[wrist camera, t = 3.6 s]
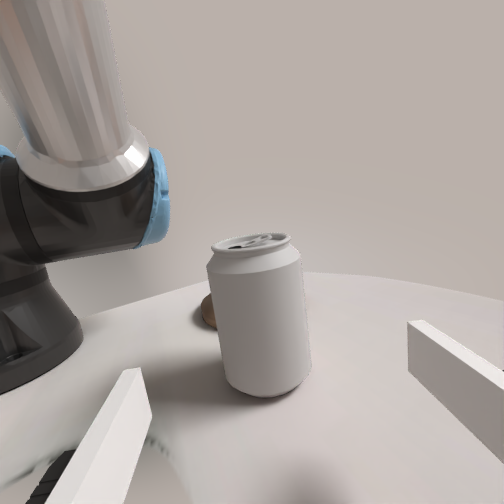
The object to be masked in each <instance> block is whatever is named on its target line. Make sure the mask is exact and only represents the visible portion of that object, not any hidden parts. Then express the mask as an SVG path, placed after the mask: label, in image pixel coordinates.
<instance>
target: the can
mask: <svg viewBox="0 0 504 504" xmlns="http://www.w3.org/2000/svg"><path fill="white" fill-rule="evenodd" d="M290 240H291V238H290V236H289V235H287V234H284V233H261V234H252V235H245V236H239V237H234V238H230V239H227V240H223V241H220V242H217V243H215V244H214V245H213V246H212V247H211V249H212V251H213V252H214V255H213V257H212V258H211V260H210V261H209V263H208V264H207V272H208V279H209V285H210V290H211V296H212V302H213V307H214V313H215V319H216V325H217V330H218V336H219V342H220V348H221V353H222V359H223V365H224V370H225V376H226V380H227V381H228V382H229V383H230V384H231V386H232V387H234V388H236V389H238V390H240V391H241V392H244V393H247V394H248V395H251V396H255V397H260V398H265V397H276V396H279V395H283V394H285V393H287V392H289V391H291V390H293V389H294V388H295V387H296V386H297V385H299V384H301V383H302V381H303V380H304V379H305V378H306V377H307V376H308V375H309V372H310V370H311V367H312V363H311V353H310V343H309V333H308V323H307V313H306V303H305V293H304V283H303V273H302V263H301V255H300V253H299V252H298V251H297V250H296V249H295V248H294V247H293V246H292V245H291V244H289V241H290Z"/></svg>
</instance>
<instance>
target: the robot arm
mask: <svg viewBox="0 0 504 504" xmlns="http://www.w3.org/2000/svg"><path fill="white" fill-rule="evenodd" d="M0 91H1V92H2V94H3V96H4V98H5V100H6V102H7V104H8V106H9V107H10V109H11V111H12V113H13V115H14V117H15V119H16V121H17V122H18V124H19V126H20V128H21V130H22V132H23V134H24V137H23V138H22V139H21V141H20V142H19V144H18V146H17V149H16V158H15V156H14V155H13V154H12V153H11V152H10V150H9V149H8V148H6V147H4V146H2V145H0V393H3V392H5V391H8V390H10V389H13V388H15V387H17V386H19V385H21V384H24V383H26V382H28V381H30V380H32V379H34V378H36V377H38V376H39V375H41V374H43V373H45V372H47V371H48V370H50V369H52V368H53V367H55V366H56V365H58V364H59V363H61V362H62V361H64V360H65V359H66V358H68V357H69V356H70V355H71V354H72V353H73V352H74V351H76V349H77V348H78V347H79V346H80V345H81V343H82V341H83V333H82V329H81V326H80V323H79V320H78V319H77V317H76V316H74V314H73V313H72V311H71V310H70V309H69V307H68V306H67V305H66V303H65V302H64V301H63V299H62V298H61V297H60V295H59V294H58V293H57V292H56V290H55V289H54V288H53V286H52V285H51V283H50V280H49V277H48V274H47V270H46V267H45V263H50V262H57V261H62V260H67V259H74V258H79V257H85V256H92V255H98V254H104V253H110V252H115V251H122V250H128V249H137V248H139V247H141V246H144V245H148V244H152V243H156V242H159V241H161V240H162V239H163V238H164V237H165V236H166V234H167V231H168V228H169V220H170V199H169V196H168V178H167V172H166V168H165V164H164V160H163V157H162V155H161V153H160V152H159V151H158V150H157V149H154V148H150V147H149V146H148V142H147V140H146V138H145V137H144V135H143V134H142V133H141V132H140V131H139V130H138V129H137V128H135V127H134V126H132V125H131V124H129V123H128V118H127V113H126V108H125V102H124V97H123V92H122V87H121V82H120V77H119V72H118V67H117V62H116V56H115V51H114V46H113V41H112V36H111V31H110V26H109V20H108V15H107V10H106V5H105V0H0ZM407 329H408V371H409V372H410V373H411V374H412V375H413V376H414V377H415V378H416V379H417V380H418V381H419V382H420V383H421V384H422V385H423V386H424V387H425V388H426V389H427V390H428V391H429V392H430V393H432V394H433V395H434V396H435V397H436V398H437V399H438V400H439V401H440V402H441V403H442V404H443V405H444V406H445V407H446V408H447V409H448V410H449V411H450V412H451V413H452V414H453V415H454V416H455V417H456V418H457V419H458V420H459V421H460V422H461V423H462V424H463V425H464V426H465V427H466V428H468V429H469V430H470V431H471V432H472V433H473V434H474V435H475V436H476V437H477V438H478V439H479V440H480V441H481V442H482V443H483V444H484V445H485V446H486V447H487V448H488V449H489V450H490V451H491V452H492V453H493V454H494V455H495V456H496V457H497V458H498V459H499V460H500V461H501V462H502V463H503V464H504V370H500V369H499V368H497V367H496V366H494V365H492V364H491V363H489V362H488V361H486V360H485V359H483V358H481V357H480V356H478V355H477V354H475V353H474V352H472V351H471V350H469V349H467V348H466V347H464V346H463V345H461V344H460V343H458V342H456V341H455V340H453V339H452V338H450V337H449V336H447V335H446V334H444V333H442V332H441V331H439V330H438V329H436V328H435V327H433V326H431V325H430V324H428V323H427V322H425V321H424V320H416V321H410V322H407ZM151 419H152V413H151V409H150V405H149V401H148V397H147V392H146V388H145V384H144V380H143V376H142V372H141V368H140V367H138V368H132V369H126V370H123V372H122V374H121V375H120V377H119V379H118V380H117V382H116V384H115V386H114V387H113V389H112V391H111V392H110V394H109V396H108V397H107V399H106V401H105V402H104V404H103V406H102V408H101V409H100V411H99V413H98V414H97V416H96V418H95V419H94V421H93V423H92V424H91V426H90V428H89V430H88V431H87V433H86V435H85V436H84V438H83V440H82V441H81V443H80V445H79V446H78V448H77V449H75V450H70V451H65V452H64V453H63V454H62V455H61V456H60V457H59V458H58V459H57V460H56V461H55V462H54V463H53V464H52V465H51V466H50V467H49V468H48V470H47V471H46V473H45V475H44V476H43V478H42V479H41V481H40V482H39V486H37V487H36V488H35V490H34V491H33V493H32V494H31V496H30V499H29V500H28V501H27V502H26V504H123V502H124V499H125V497H126V493H127V491H128V488H129V485H130V482H131V479H132V476H133V473H134V470H135V467H136V464H137V461H138V458H139V455H140V452H141V449H142V446H143V443H144V440H145V437H146V434H147V431H148V428H149V425H150V422H151Z"/></svg>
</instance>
